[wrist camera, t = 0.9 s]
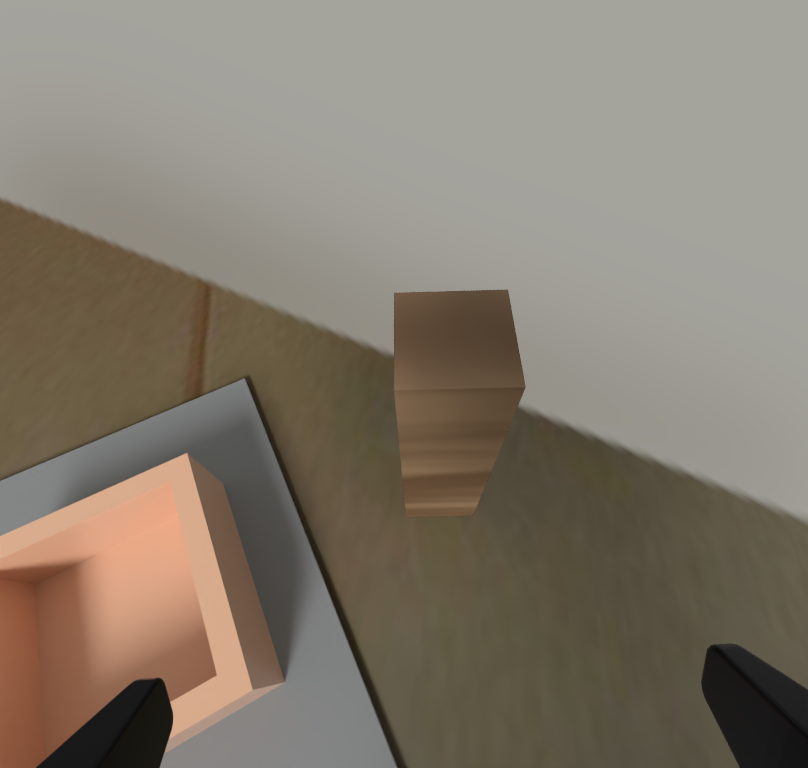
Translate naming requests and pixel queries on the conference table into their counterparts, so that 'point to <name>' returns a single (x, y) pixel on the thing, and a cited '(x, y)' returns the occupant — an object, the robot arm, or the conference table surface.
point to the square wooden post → (453, 394)
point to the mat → (272, 574)
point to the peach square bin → (129, 611)
